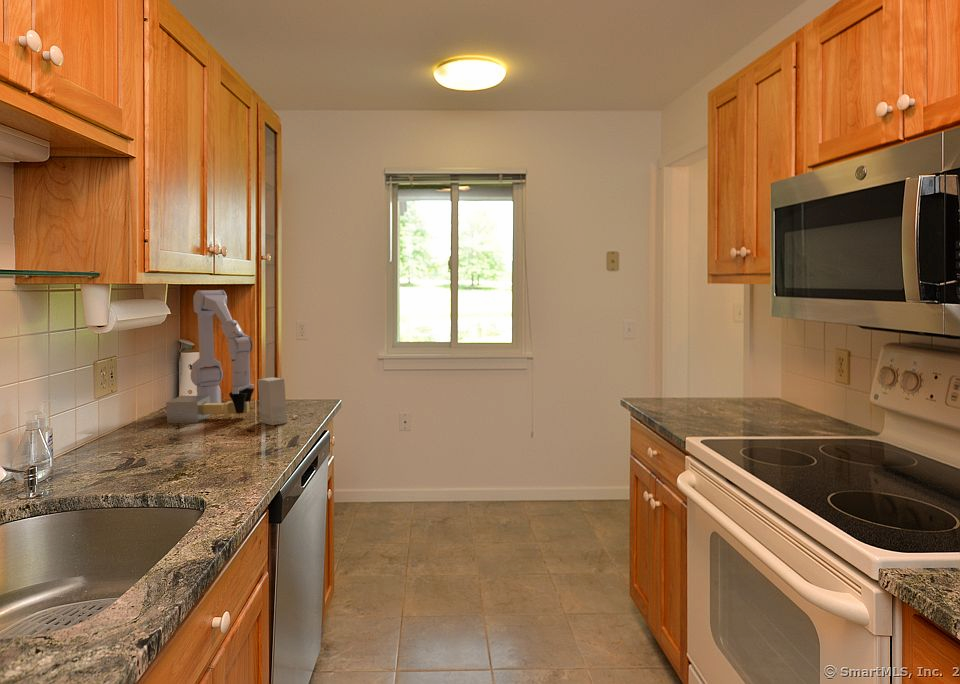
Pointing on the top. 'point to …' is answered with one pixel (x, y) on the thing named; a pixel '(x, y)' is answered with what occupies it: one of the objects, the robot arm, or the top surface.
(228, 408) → the end cover
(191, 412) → the block
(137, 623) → the top surface
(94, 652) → the top surface
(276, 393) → the skincare box
